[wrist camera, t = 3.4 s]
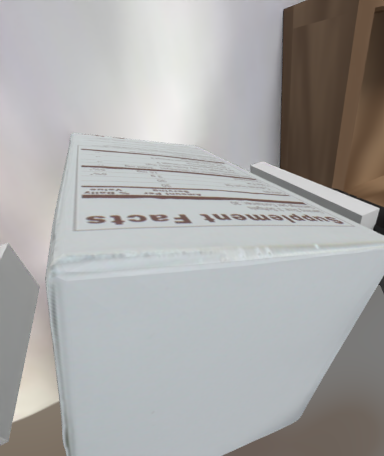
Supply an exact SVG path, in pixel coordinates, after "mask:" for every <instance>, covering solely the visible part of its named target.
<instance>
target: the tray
mask: <svg viewBox="0 0 384 456" xmlns="http://www.w3.org/2000/svg"><path fill="white" fill-rule="evenodd" d="M280 169H283V170H285V171H288V172H290V173H293V174H295V175H298V176H300V177H303V178H305V179H308V180H310V181H313V182H315V183H318V184H320V185H323V186H325V187H329V188H334V189H339V190H341V191H344V192H346V193H348V194H351V195H354V196H357V198H362V199H364V200H367V201H369V202H372V203H374V204H377V205H380V206H382V207H384V0H306V1H304V2H301V3H299V4H296V5H293V6H291V7H288V8H286V9H284V22H283V67H282V112H281V157H280Z"/></svg>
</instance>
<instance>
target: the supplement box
mask: <svg viewBox="0 0 384 456" xmlns="http://www.w3.org/2000/svg"><path fill="white" fill-rule="evenodd" d="M383 276H384V235H381V234H379V233H377V232H375V231H373V230H371V229H369V228H367V227H365V226H363V225H361V224H358V223H356V222H354V221H352V220H350V219H348V218H346V217H344V216H341V215H339V214H337V213H335V212H333V211H331V210H329V209H326V208H324V207H322V206H320V205H318V204H316V203H314V202H312V201H310V200H308V199H306V198H304V197H302V196H300V195H297V194H295V193H293V192H291V191H289V190H287V189H285V188H282V187H280V186H278V185H276V184H274V183H272V182H269V181H267V180H265V179H263V178H261V177H259V176H257V175H255V174H253V173H251V172H249V171H247V170H245V169H243V168H241V167H239V166H237V165H235V164H233V163H230V162H228V161H227V160H224V159H222V158H220V157H218V156H216V155H214V154H212V153H210V152H208V151H206V150H204V149H202V148H200V147H198V146H194V145H182V144H172V143H163V142H154V141H145V140H136V139H127V138H118V137H109V136H100V135H90V134H80V133H72V134H71V137H70V144H69V149H68V154H67V158H66V163H65V168H64V173H63V177H62V181H61V186H60V190H59V195H58V200H57V205H56V209H55V214H54V220H53V226H52V232H51V240H50V248H49V256H48V263H47V269H46V277H45V280H46V290H47V298H48V307H49V316H50V326H51V333H52V340H53V349H54V357H55V366H56V374H57V383H58V391H59V400H60V409H61V418H62V434H63V435H62V436H63V445H64V447H65V450H66V456H222V455H224V454H227V453H229V452H231V451H233V450H235V449H238V448H240V447H242V446H244V445H246V444H248V443H250V442H253V441H255V440H257V439H260V438H262V437H264V436H266V435H269V434H271V433H273V432H276V431H278V430H280V429H282V428H284V427H286V426H288V425H290V424H292V423H294V422H295V421H297V420H298V419H299V418H300V417H301V415H302V414H303V412H304V410H305V408H306V406H307V404H308V403H309V401H310V399H311V397H312V395H313V394H314V392H315V390H316V389H317V387H318V385H319V383H320V382H321V380H322V378H323V376H324V375H325V373H326V371H327V370H328V368H329V366H330V365H331V363H332V361H333V360H334V358H335V356H336V354H337V353H338V351H339V349H340V348H341V346H342V344H343V343H344V341H345V339H346V338H347V336H348V334H349V333H350V331H351V329H352V328H353V326H354V324H355V322H356V321H357V319H358V317H359V316H360V314H361V313H362V311H363V309H364V307H365V306H366V304H367V302H368V301H369V299H370V297H371V296H372V294H373V292H374V291H375V289H376V287H377V285H378V284H379V283H380V281H381V279H382V278H383Z"/></svg>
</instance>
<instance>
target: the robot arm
mask: <svg viewBox="0 0 384 456" xmlns="http://www.w3.org/2000/svg"><path fill="white" fill-rule="evenodd" d="M250 169H251V173H253V174H255V175H257V176H259V177H261V178H263V179H265V180H267V181H269V182H272V183H274V184H276V185H278V186H280V187H282V188H285V189H287V190H289V191H291V192H293V193H295V194H297V195H300V196H302V197H304V198H306V199H308V200H310V201H312V202H314V203H316V204H318V205H320V206H322V207H324V208H326V209H329V210H331V211H333V212H335V213H337V214H339V215H341V216H344V217H346V218H348V219H350V220H352V221H354V222H356V223H358V224H361V225H363V226H365V227H367V228H369V229H371V230H373V231H375V232H377V233H379V234H381V235H384V207H382V206H380V205H377V204H374V203H372V202H369V201H367V200H364V199H362V198H357V196H354V195H351V194H348V193H346V192H344V191H341V190H339V189H334V188H329V187H325V186H323V185H320V184H318V183H315V182H313V181H310V180H308V179H305V178H303V177H300V176H298V175H295V174H293V173H290V172H288V171H285V170H283V169H280V168H278V167H275V166H273V165H270V164H268V163H265V162H263V161H262V162H259V163H255V164H252V165H250ZM378 285H380V286H381V288H382V291H383V293H384V276H383V278H382V279H381V281H380V283H379V284H378ZM39 289H40V287H39V285H38V284H37V283H36V281H35V280H34V278H33V277H32V276H31V274H30V273H29V271H28V270H27V269H26V267H25V266H24V264H23V263H22V262H21V260H20V259H19V257H18V256H17V255H16V253H15V252H14V250H13V249H12V248H11V246H10V245H9V243H7V244H3V245H0V445H2V444H4V443H6V442H8V441H9V435H10V431H11V426H12V421H13V416H14V411H15V406H16V401H17V396H18V392H19V387H20V382H21V377H22V372H23V367H24V362H25V357H26V352H27V347H28V343H29V338H30V333H31V328H32V323H33V318H34V313H35V308H36V303H37V298H38V293H39Z"/></svg>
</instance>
